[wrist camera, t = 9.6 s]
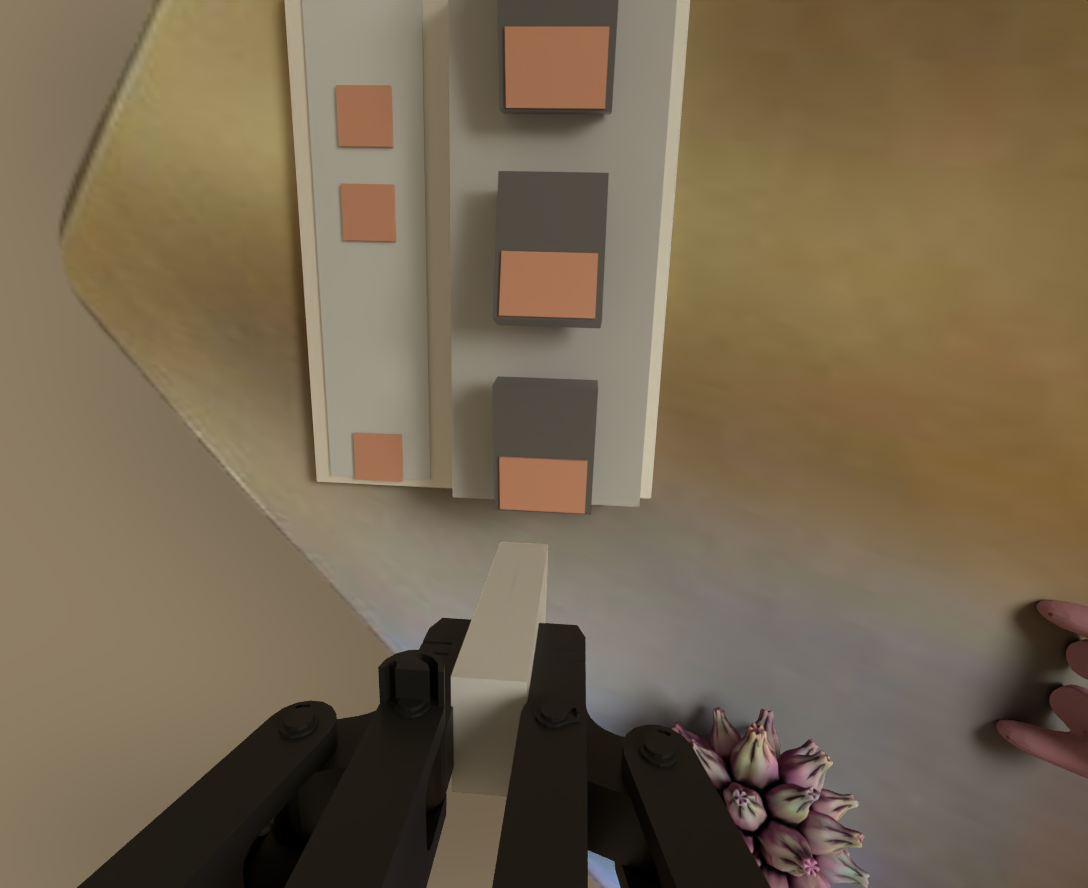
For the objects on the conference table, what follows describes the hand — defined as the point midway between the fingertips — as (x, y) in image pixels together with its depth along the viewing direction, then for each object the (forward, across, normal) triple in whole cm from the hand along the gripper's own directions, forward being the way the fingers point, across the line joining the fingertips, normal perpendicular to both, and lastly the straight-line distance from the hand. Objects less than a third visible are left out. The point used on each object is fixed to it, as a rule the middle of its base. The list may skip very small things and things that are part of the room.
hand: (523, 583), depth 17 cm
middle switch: (+10, 0, +11) cm, 15 cm away
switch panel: (+16, -4, +11) cm, 20 cm away
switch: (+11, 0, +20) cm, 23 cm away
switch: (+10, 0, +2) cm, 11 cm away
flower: (+16, +12, -19) cm, 28 cm away
